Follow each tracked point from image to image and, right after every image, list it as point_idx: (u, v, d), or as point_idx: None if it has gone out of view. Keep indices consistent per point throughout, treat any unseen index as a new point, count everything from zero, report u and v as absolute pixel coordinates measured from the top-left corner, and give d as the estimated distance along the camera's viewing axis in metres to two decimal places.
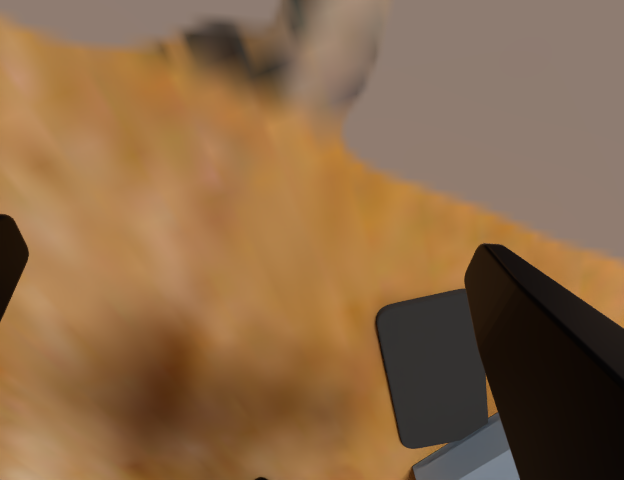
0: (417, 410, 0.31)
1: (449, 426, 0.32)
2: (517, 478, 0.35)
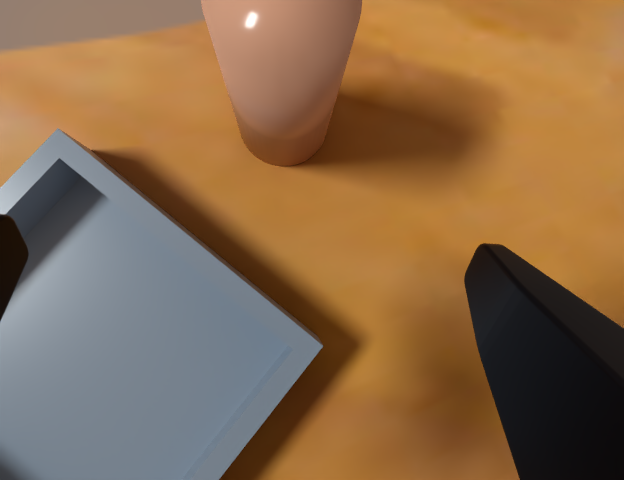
0: None
1: None
2: (123, 398, 0.19)
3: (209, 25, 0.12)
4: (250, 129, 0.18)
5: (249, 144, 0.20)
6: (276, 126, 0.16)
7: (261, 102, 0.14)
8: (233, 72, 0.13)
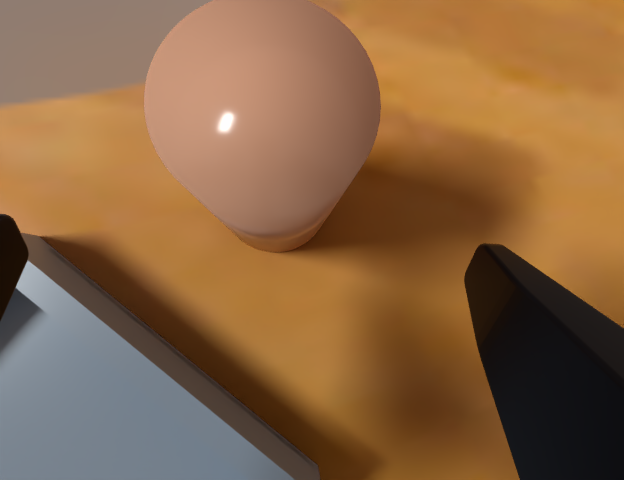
0: None
1: None
2: None
3: (156, 146, 0.08)
4: (231, 230, 0.14)
5: None
6: (262, 238, 0.12)
7: (239, 226, 0.10)
8: None
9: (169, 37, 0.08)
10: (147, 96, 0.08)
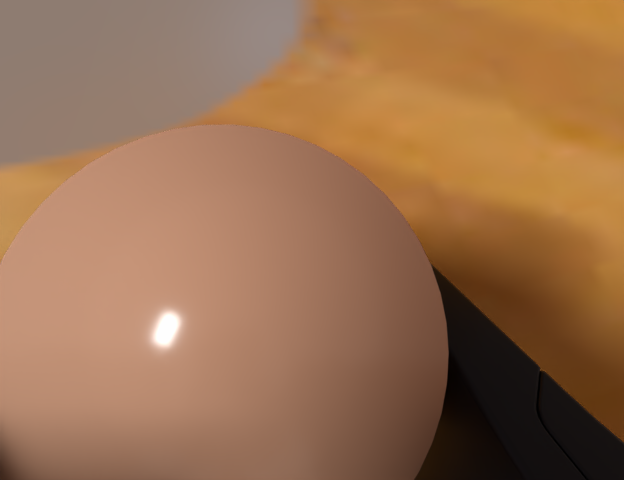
0: None
1: None
2: None
3: None
4: None
5: None
6: None
7: None
8: None
9: (31, 226, 0.04)
10: None
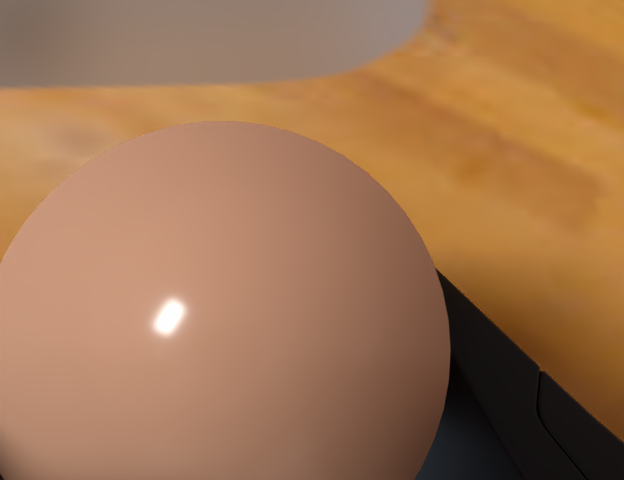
0: None
1: None
2: None
3: None
4: None
5: None
6: None
7: None
8: None
9: (32, 222, 0.04)
10: None
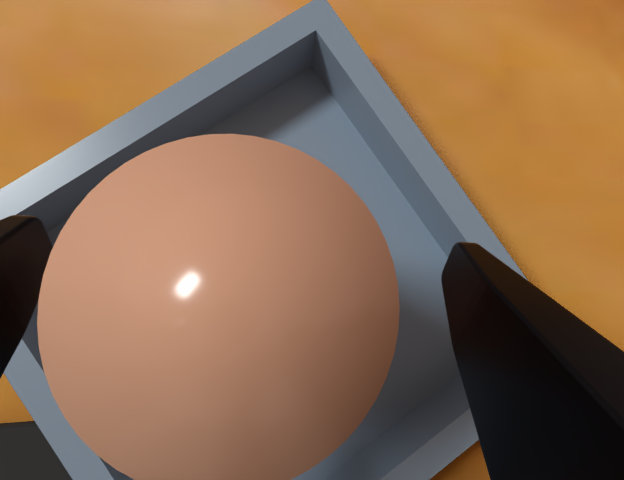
0: None
1: None
2: None
3: (53, 385, 0.05)
4: None
5: None
6: None
7: None
8: None
9: (80, 210, 0.05)
10: (44, 304, 0.05)
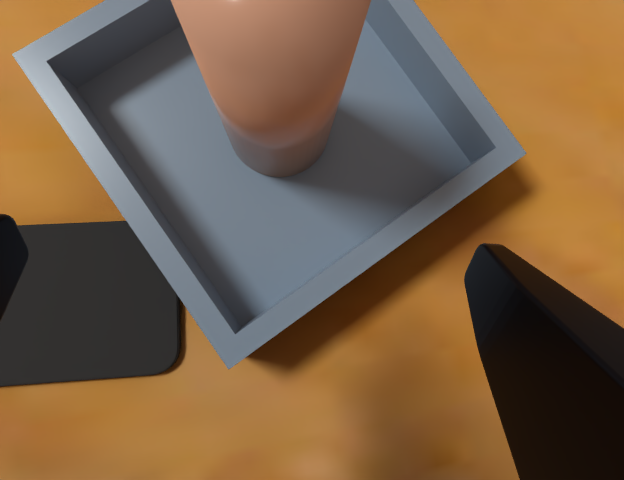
0: (76, 341, 0.18)
1: (132, 287, 0.18)
2: None
3: (176, 8, 0.09)
4: (238, 137, 0.15)
5: (239, 153, 0.18)
6: (268, 134, 0.13)
7: (247, 107, 0.11)
8: (210, 69, 0.10)
9: None
10: None
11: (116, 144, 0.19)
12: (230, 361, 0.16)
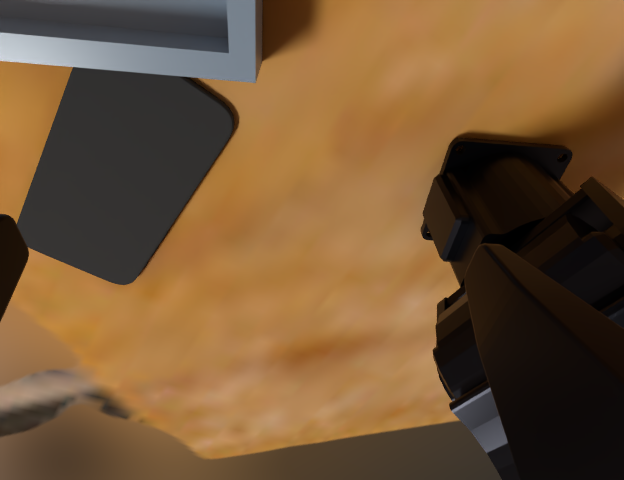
0: (169, 166, 0.21)
1: (145, 101, 0.18)
2: None
3: None
4: None
5: None
6: None
7: None
8: None
9: None
10: None
11: None
12: (249, 76, 0.15)
